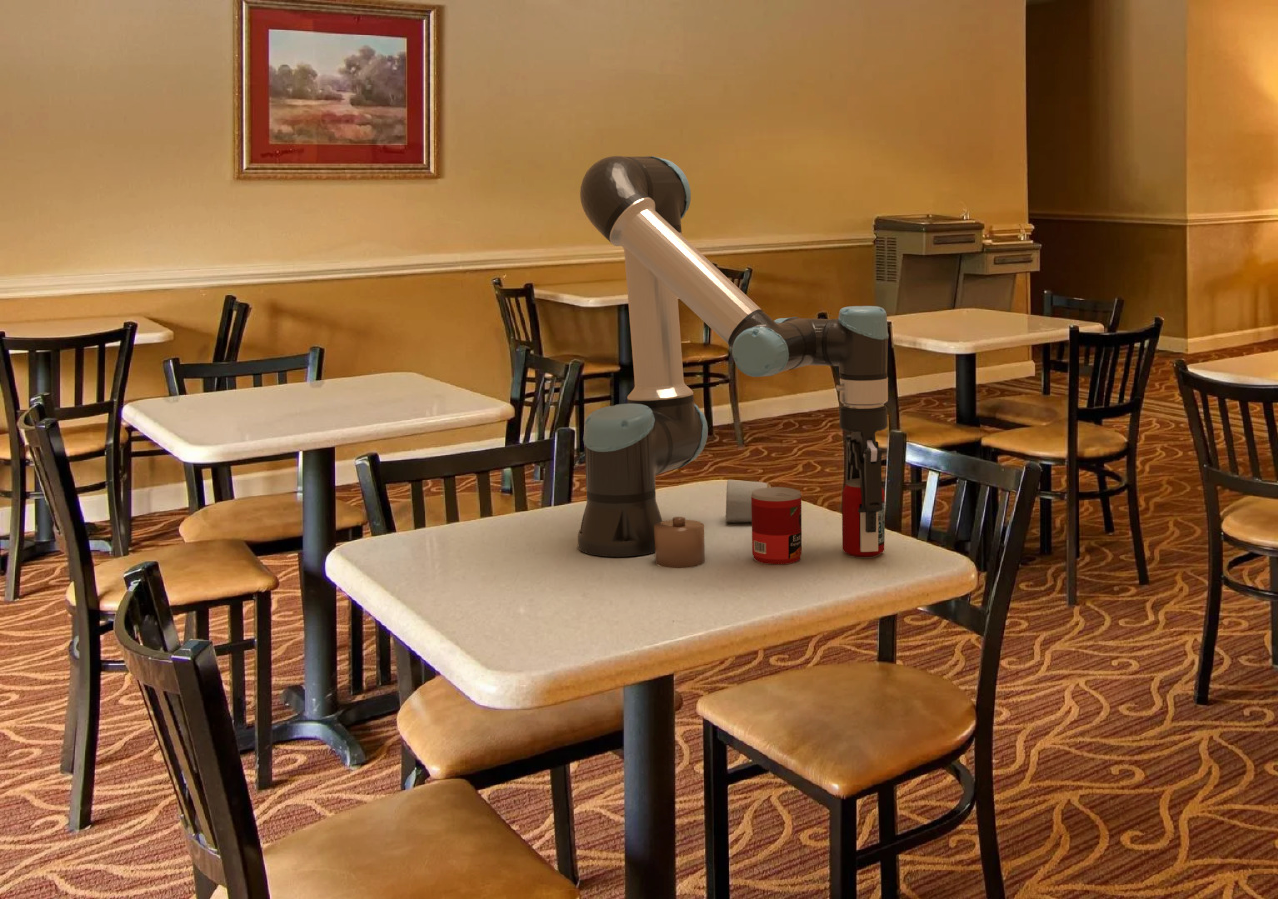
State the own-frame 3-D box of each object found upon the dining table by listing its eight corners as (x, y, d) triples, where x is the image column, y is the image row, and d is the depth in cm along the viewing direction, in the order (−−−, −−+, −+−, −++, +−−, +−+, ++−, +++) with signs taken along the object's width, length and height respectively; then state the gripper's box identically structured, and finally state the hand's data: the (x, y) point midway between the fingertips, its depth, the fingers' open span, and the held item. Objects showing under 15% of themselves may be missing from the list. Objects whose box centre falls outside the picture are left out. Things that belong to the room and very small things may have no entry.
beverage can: (875, 561, 208) (875, 487, 206) (835, 556, 212) (835, 483, 210) (890, 551, 214) (891, 479, 212) (852, 547, 217) (851, 475, 215)
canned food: (799, 565, 207) (799, 497, 205) (749, 564, 209) (748, 496, 207) (803, 553, 215) (803, 487, 213) (754, 552, 216) (753, 486, 214)
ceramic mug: (772, 526, 233) (771, 483, 232) (725, 526, 234) (725, 484, 233) (770, 513, 244) (770, 472, 242) (726, 513, 244) (725, 473, 243)
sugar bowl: (645, 563, 212) (643, 520, 210) (676, 552, 218) (675, 510, 216) (684, 571, 207) (682, 526, 205) (714, 559, 213) (713, 516, 211)
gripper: (826, 396, 218) (827, 531, 222) (855, 415, 198) (855, 562, 203) (870, 394, 218) (870, 529, 223) (903, 412, 199) (903, 559, 203)
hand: (863, 544), depth 213 cm, fingers open, 7 cm apart
